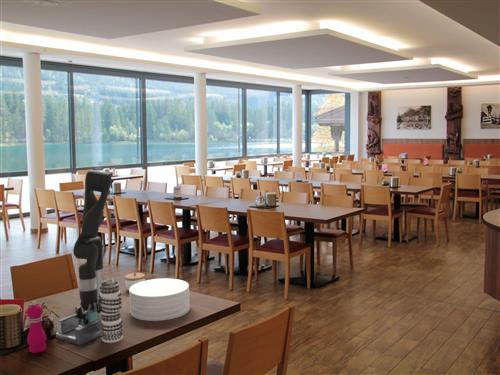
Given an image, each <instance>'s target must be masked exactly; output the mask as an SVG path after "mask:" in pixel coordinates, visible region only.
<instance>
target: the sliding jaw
mask: <svg viewBox="0 0 500 375" xmlns="http://www.w3.org/2000/svg"><path fill="white" fill-rule="evenodd" d="M79 325H80V324H79V322H78V315H77V314H72V313H71V314H70V315H68V316H65V317H62V318H60V319H57V320H56V328H57V332H58V333H61V334H63V333H65V332H68V331H70V330H73V329H75V328H78V327H79Z"/></svg>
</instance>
